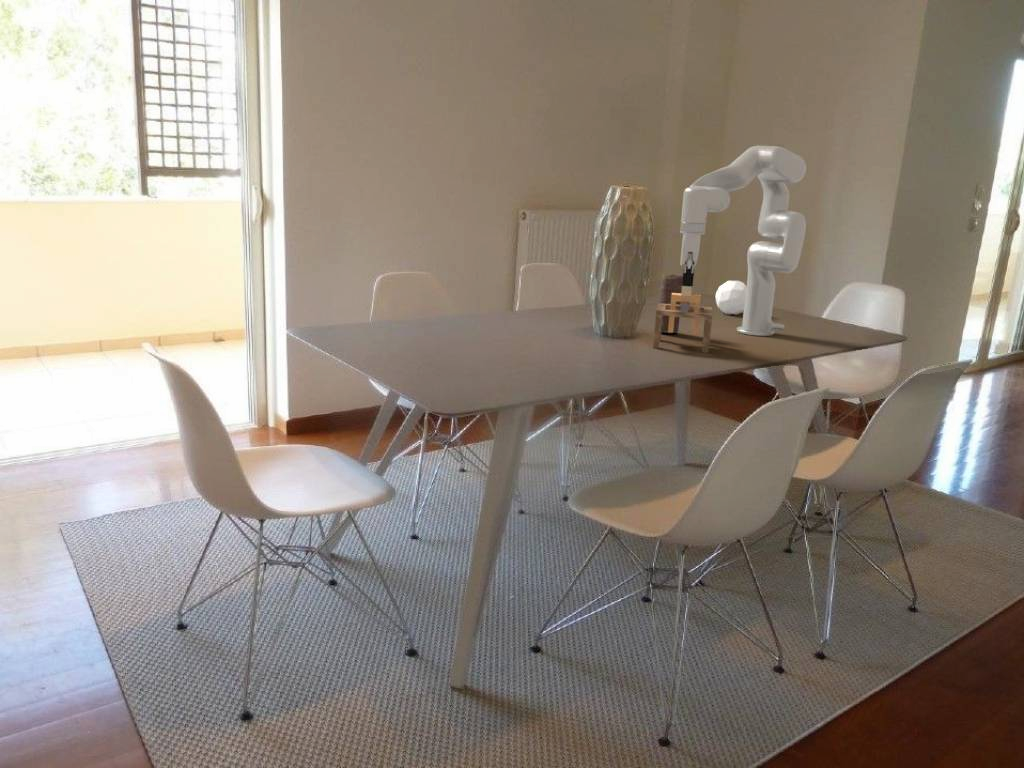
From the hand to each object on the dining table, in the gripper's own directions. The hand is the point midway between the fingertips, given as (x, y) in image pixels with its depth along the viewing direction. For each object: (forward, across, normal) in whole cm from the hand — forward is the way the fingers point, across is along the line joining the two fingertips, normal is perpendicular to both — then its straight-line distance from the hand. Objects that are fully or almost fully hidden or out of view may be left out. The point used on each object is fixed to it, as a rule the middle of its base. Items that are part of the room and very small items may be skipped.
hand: (687, 283), depth 274 cm
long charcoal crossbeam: (+8, 0, 0) cm, 8 cm away
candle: (+20, -19, -5) cm, 28 cm away
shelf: (+20, 0, 0) cm, 20 cm away
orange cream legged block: (+15, 0, 0) cm, 15 cm away
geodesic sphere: (+21, -70, +18) cm, 75 cm away
